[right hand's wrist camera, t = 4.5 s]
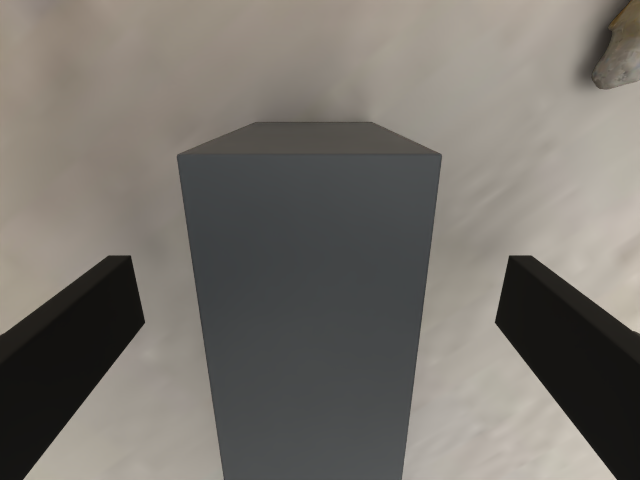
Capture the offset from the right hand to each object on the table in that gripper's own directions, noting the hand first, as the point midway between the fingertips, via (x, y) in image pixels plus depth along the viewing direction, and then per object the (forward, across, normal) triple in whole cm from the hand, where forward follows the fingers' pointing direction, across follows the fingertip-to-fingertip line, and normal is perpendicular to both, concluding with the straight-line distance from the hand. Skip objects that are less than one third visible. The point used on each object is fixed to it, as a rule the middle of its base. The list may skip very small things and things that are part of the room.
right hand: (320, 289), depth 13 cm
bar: (+3, 0, -25) cm, 25 cm away
